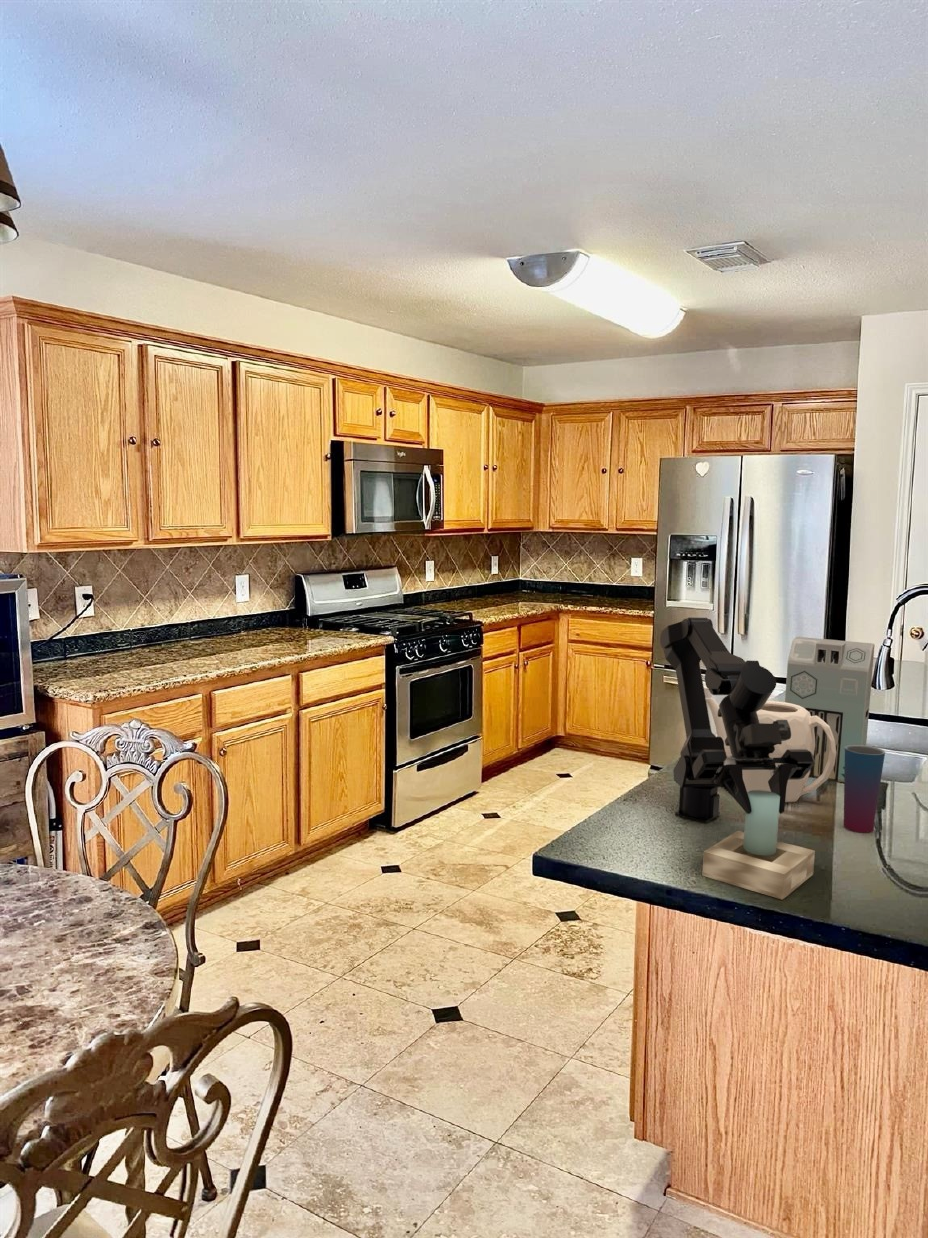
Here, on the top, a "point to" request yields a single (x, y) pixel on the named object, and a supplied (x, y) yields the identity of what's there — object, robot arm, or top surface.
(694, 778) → the robot arm
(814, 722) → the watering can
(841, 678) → the device
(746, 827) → the peg
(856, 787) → the cup
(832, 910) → the top surface
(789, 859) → the socket
